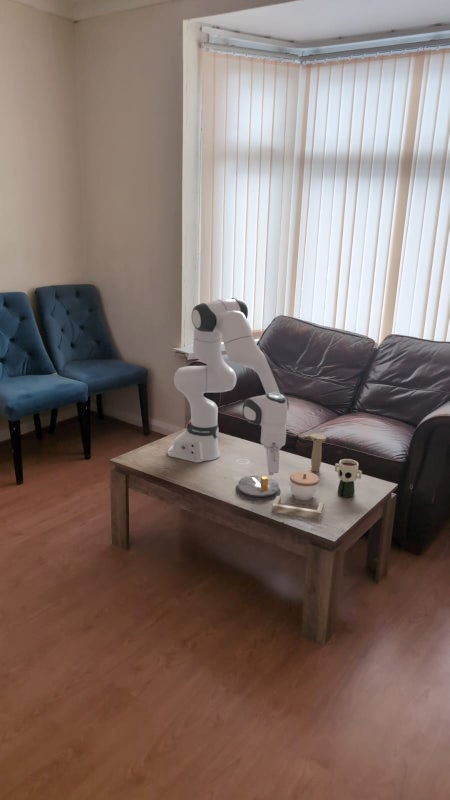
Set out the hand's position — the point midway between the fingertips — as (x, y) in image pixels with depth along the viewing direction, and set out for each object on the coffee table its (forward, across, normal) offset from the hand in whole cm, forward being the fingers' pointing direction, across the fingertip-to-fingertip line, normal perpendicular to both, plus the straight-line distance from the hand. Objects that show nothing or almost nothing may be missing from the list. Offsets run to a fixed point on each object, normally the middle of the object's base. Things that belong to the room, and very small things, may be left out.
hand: (270, 473), depth 223 cm
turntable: (+10, +6, +4) cm, 13 cm away
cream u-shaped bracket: (+10, -9, -10) cm, 16 cm away
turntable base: (+10, +6, +4) cm, 13 cm away
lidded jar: (+10, +3, -13) cm, 17 cm away
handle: (+11, +26, -20) cm, 35 cm away
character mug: (+10, +6, -29) cm, 31 cm away
